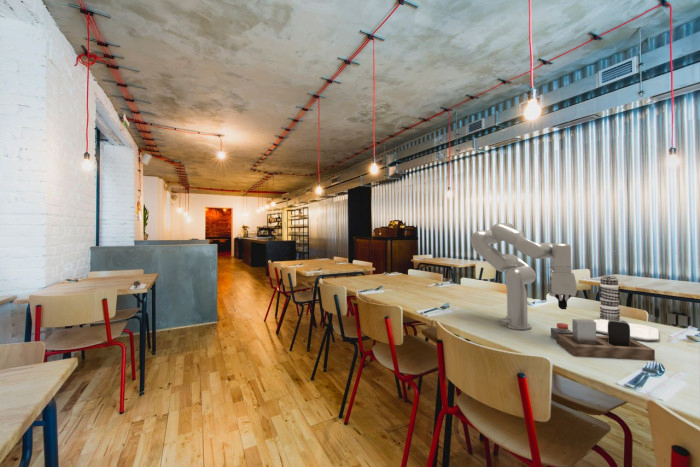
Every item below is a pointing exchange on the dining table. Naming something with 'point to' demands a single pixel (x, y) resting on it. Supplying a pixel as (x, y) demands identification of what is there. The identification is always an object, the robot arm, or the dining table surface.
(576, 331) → the wooden sorting tray
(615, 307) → the decorative candle
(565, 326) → the button
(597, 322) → the plate
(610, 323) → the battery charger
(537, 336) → the dining table surface
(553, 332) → the button housing
